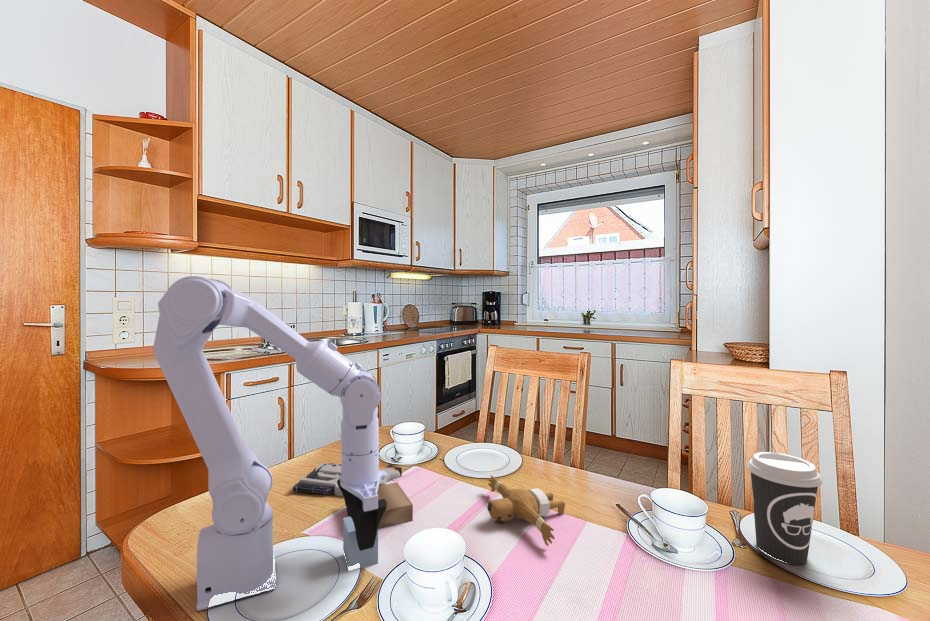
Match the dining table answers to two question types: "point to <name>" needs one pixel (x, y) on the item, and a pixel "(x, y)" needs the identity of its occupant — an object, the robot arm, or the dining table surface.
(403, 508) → the walnut base
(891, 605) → the dining table surface
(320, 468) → the toy gun
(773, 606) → the dining table surface
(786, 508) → the coffee cup
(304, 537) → the dining table surface
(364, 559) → the slate block
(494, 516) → the toy
